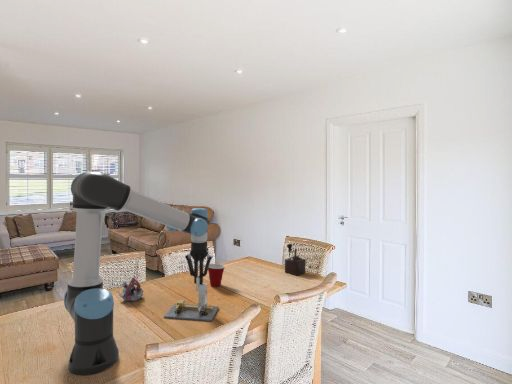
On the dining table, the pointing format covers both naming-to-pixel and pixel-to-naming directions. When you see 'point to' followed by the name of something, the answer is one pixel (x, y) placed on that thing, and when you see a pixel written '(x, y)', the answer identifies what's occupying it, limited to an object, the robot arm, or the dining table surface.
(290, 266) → the dark box with lever
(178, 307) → the gauge rail
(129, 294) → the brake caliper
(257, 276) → the dining table surface
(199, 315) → the bolt plate
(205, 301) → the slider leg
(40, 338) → the dining table surface
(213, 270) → the plastic cup
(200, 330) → the dining table surface
